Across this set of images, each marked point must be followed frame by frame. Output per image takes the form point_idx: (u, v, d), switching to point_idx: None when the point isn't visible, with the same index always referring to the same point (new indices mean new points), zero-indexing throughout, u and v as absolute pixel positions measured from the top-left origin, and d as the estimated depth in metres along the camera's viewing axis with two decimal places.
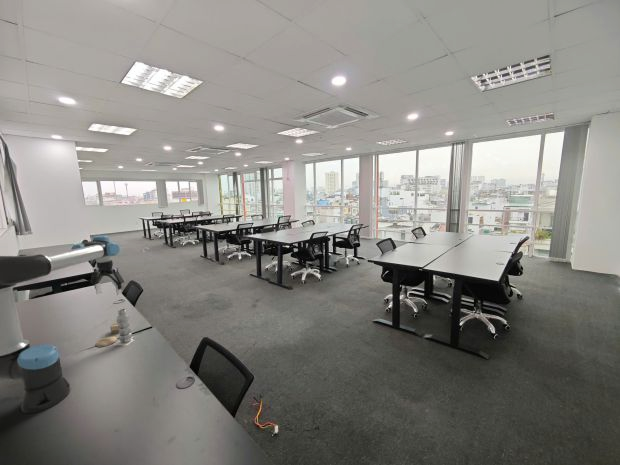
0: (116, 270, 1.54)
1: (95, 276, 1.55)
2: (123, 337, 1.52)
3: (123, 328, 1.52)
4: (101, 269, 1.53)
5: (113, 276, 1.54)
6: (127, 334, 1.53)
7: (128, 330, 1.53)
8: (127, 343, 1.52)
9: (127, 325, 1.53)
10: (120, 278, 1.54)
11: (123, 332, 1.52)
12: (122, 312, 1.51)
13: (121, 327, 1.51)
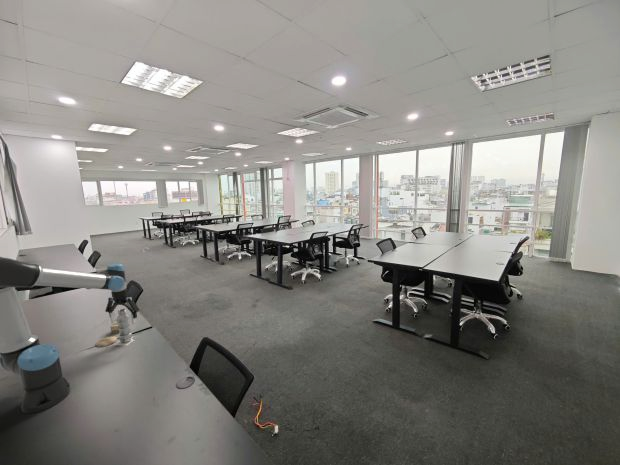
0: (131, 299, 1.51)
1: (110, 305, 1.52)
2: (123, 337, 1.52)
3: (123, 328, 1.52)
4: (116, 298, 1.50)
5: (128, 305, 1.51)
6: (127, 334, 1.53)
7: (128, 330, 1.53)
8: (127, 343, 1.52)
9: (127, 325, 1.53)
10: (135, 307, 1.51)
11: (123, 332, 1.52)
12: (122, 312, 1.51)
13: (121, 327, 1.51)
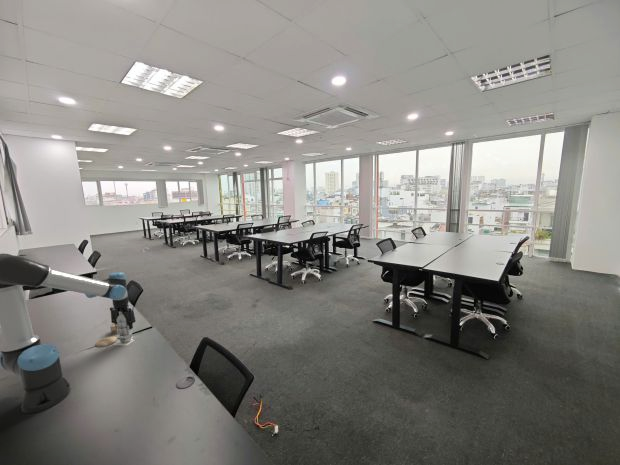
0: (132, 309, 1.52)
1: (114, 315, 1.53)
2: (123, 337, 1.52)
3: (124, 328, 1.51)
4: (116, 305, 1.51)
5: (127, 315, 1.52)
6: (127, 334, 1.53)
7: None
8: (127, 343, 1.52)
9: None
10: (133, 318, 1.52)
11: (123, 332, 1.52)
12: None
13: (121, 327, 1.51)
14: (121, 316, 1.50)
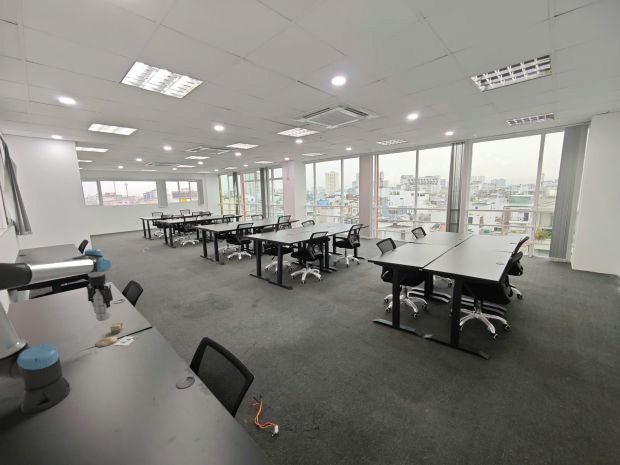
0: (109, 287, 1.49)
1: (90, 293, 1.49)
2: (100, 315, 1.49)
3: (100, 306, 1.48)
4: None
5: (104, 293, 1.49)
6: (104, 313, 1.50)
7: None
8: (127, 343, 1.52)
9: None
10: (110, 296, 1.49)
11: (100, 310, 1.49)
12: None
13: (98, 305, 1.48)
14: (98, 294, 1.47)
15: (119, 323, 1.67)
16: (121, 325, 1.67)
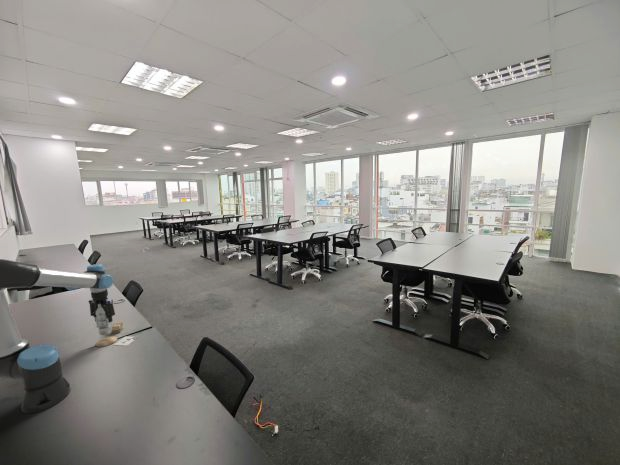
0: (111, 302, 1.50)
1: (93, 308, 1.51)
2: (102, 330, 1.50)
3: (103, 320, 1.50)
4: (95, 298, 1.49)
5: (106, 307, 1.50)
6: (107, 327, 1.51)
7: None
8: (127, 343, 1.52)
9: None
10: (112, 311, 1.50)
11: (102, 325, 1.50)
12: None
13: (100, 320, 1.49)
14: (100, 309, 1.49)
15: (119, 323, 1.67)
16: (121, 325, 1.67)
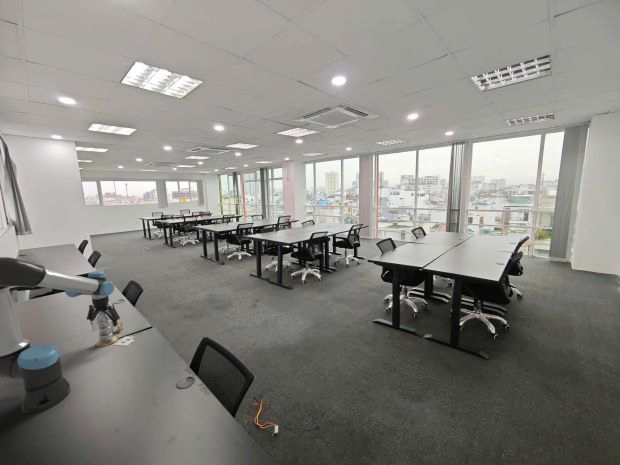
0: (112, 307, 1.50)
1: (91, 312, 1.52)
2: (103, 337, 1.51)
3: (104, 328, 1.51)
4: (97, 305, 1.50)
5: (109, 312, 1.50)
6: (107, 335, 1.52)
7: (109, 330, 1.53)
8: (127, 343, 1.52)
9: (107, 325, 1.52)
10: (116, 315, 1.51)
11: (103, 332, 1.51)
12: (102, 312, 1.50)
13: (101, 327, 1.50)
14: (101, 316, 1.50)
15: (119, 323, 1.67)
16: (121, 325, 1.67)
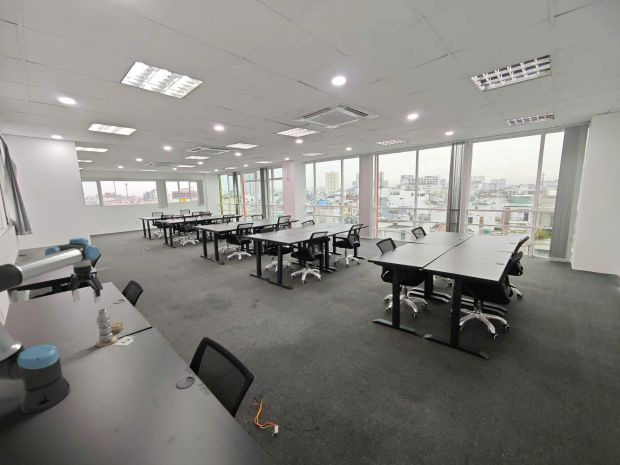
0: (95, 276, 1.43)
1: (72, 282, 1.44)
2: (103, 337, 1.51)
3: (104, 328, 1.51)
4: (78, 274, 1.42)
5: (91, 282, 1.43)
6: (107, 335, 1.52)
7: (108, 330, 1.53)
8: (127, 343, 1.52)
9: (107, 325, 1.52)
10: (99, 284, 1.43)
11: (103, 332, 1.51)
12: (102, 312, 1.50)
13: (101, 327, 1.50)
14: (101, 316, 1.50)
15: (119, 323, 1.67)
16: (121, 325, 1.67)
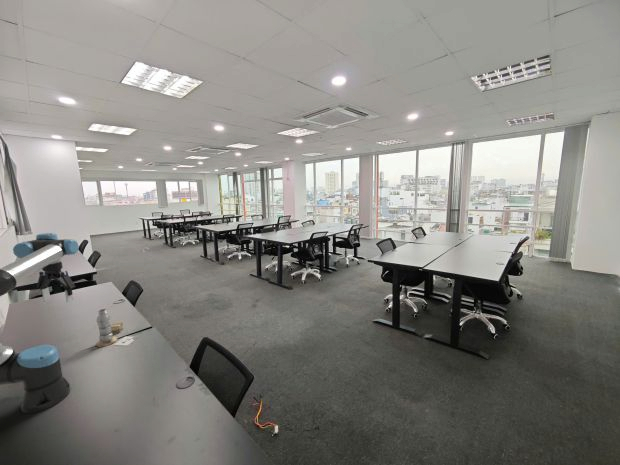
0: (66, 273, 1.34)
1: (42, 280, 1.35)
2: (103, 337, 1.51)
3: (104, 328, 1.51)
4: (48, 272, 1.33)
5: (62, 280, 1.34)
6: (107, 335, 1.52)
7: (109, 330, 1.52)
8: (127, 343, 1.52)
9: (107, 325, 1.52)
10: (70, 282, 1.34)
11: (103, 332, 1.51)
12: (102, 312, 1.50)
13: (101, 327, 1.50)
14: (101, 316, 1.50)
15: (119, 323, 1.67)
16: (121, 325, 1.67)
